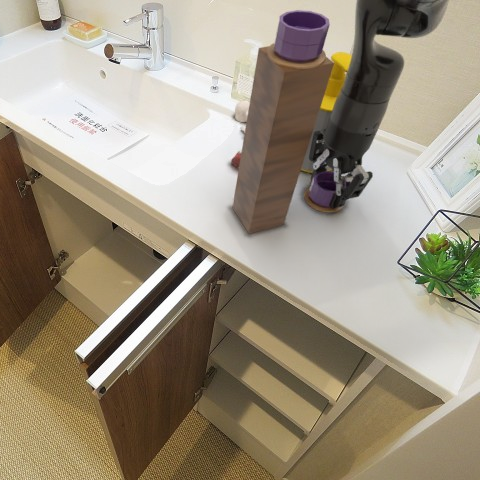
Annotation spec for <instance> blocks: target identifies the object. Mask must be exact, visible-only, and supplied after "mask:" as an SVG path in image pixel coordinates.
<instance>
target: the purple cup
mask: <svg viewBox="0 0 480 480" xmlns="http://www.w3.org/2000/svg"><path fill="white" fill-rule="evenodd" d="M342 176H343V174H342V175H341V177H342ZM309 187H310V189H309V197H310V198H311V199H312V201H313V202H314V203H316V204H318V205H320V206H323V207H330V206H329V205H330V202H331V200H332V198H333V195H334V193H335V192H336V182H334V172H333V171H323V172H319V173H317V174H316V175H315V176H314V177H313V180H312V183H311V184H310V186H309ZM343 187H346V182H345V183H343Z"/></svg>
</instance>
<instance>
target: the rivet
mask: <svg viewBox="0 0 480 480" xmlns="http://www.w3.org/2000/svg"><path fill="white" fill-rule="evenodd" d="M245 129H246V126H244V125H241V126H240V130H242V132H243V133H244V134H245Z"/></svg>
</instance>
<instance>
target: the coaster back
mask: <svg viewBox="0 0 480 480" xmlns="http://www.w3.org/2000/svg"><path fill="white" fill-rule="evenodd" d="M309 189H310V186H309V187H307V188H306V190H305V191H304V194H303V197H304V198H303V199H304V202H305V203H306V204H307V205H308V206H309V207H311V209H313V210H315V211H317V212H321V213H327V214H329V213H336V212H338V211H340V210H342V209H343V208H344V205H343V206H342V207H339V208H336V209H331V208H330V207H323V206H320V205H318V204H316V203H314V202H313V201H312V199H311V198H310V197H309Z"/></svg>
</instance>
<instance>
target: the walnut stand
mask: <svg viewBox="0 0 480 480" xmlns="http://www.w3.org/2000/svg"><path fill="white" fill-rule="evenodd" d="M269 46H270V45H268V46H262V47H258V51H257V57H256V64H255V69H254V75H253V82H252V87H251V88H252V89H251V91H250V92H251V93H250V97H249V98H250V99H249V102H250V105H249V111H248V117H247V122H245V123H246V124H245V128H246V129H245V133H244V135H243V142H242V148H241V151H242V153H241V159H240V165H239V167H238V170H237V171H238V172H237V177H236V183H235V189H234V196H233V201H232V209H233V211H234V213H235V215H236V216H237V217H238V219H239V220H240V222H241V224H242V225H243V227H244V229H245V230H246V233H248V234H249V235H250V234H253V233H257V232H261V231H264V230H269V229H272V228H275V227H280V226H284V225H285V222H286V219H287V215H288V212H289V210H290V206H291V202H292V200H293V197H294V193H295V190H296V186H297V184H298V180H299V178H300V174H301V172H302V170H301V168H302V165H303V161H304V158H305V155H306V152H307V149H308V145H309V142H310V139H311V136H312V133H313V129H314V126H315V123H316V120H317V117H318V113H319V110H320V107H321V104H322V101H323V97H324V94H325V91H326V88H327V85H328V81H329V78H330V75H331V72H332V69H333V65H334V62H333V61H332V60H331V58H329V57H327V56H326V58H325V61H324V62H323V63H322V64H321V65H319V66H317V67H314V68H309V69H293V68H287V67H283V66H280V65H278V64H276V63H274V62H272V61H271V60H270V59H269V58H268V57H267V49H268V47H269Z"/></svg>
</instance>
